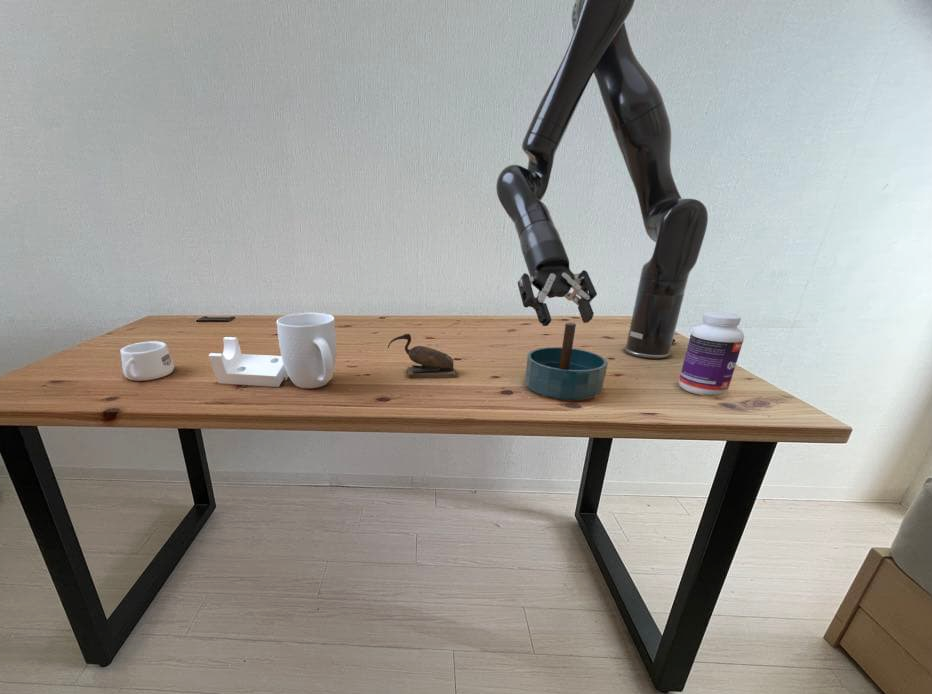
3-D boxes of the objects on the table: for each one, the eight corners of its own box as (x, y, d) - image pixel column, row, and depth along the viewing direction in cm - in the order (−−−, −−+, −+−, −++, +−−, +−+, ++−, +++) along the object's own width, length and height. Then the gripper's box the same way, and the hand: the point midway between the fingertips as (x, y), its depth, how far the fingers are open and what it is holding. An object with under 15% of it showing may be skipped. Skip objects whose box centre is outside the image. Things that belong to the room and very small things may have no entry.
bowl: (535, 370, 97) (539, 343, 95) (607, 382, 90) (612, 353, 88) (514, 392, 86) (517, 362, 84) (594, 408, 79) (600, 376, 77)
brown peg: (551, 378, 91) (560, 319, 86) (577, 383, 89) (587, 322, 84) (545, 386, 87) (553, 325, 82) (572, 391, 85) (582, 328, 80)
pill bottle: (727, 401, 81) (752, 322, 75) (675, 392, 85) (696, 316, 79) (725, 387, 88) (749, 312, 82) (678, 379, 92) (696, 308, 86)
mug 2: (358, 391, 87) (355, 324, 82) (304, 404, 82) (297, 334, 76) (324, 369, 99) (319, 309, 93) (275, 380, 93) (267, 317, 88)
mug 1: (141, 366, 102) (134, 340, 100) (183, 366, 102) (177, 340, 99) (107, 386, 91) (98, 357, 89) (153, 386, 91) (146, 357, 88)
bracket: (219, 386, 93) (208, 355, 88) (235, 367, 98) (224, 336, 93) (279, 390, 91) (271, 358, 86) (292, 370, 96) (284, 339, 91)
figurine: (388, 378, 94) (387, 337, 90) (388, 370, 98) (387, 331, 94) (455, 377, 94) (457, 336, 90) (452, 369, 98) (454, 330, 94)
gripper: (517, 239, 85) (542, 313, 79) (585, 236, 88) (613, 308, 82) (502, 265, 92) (524, 335, 86) (565, 262, 95) (591, 329, 89)
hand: (568, 322), depth 84 cm, fingers open, 8 cm apart
